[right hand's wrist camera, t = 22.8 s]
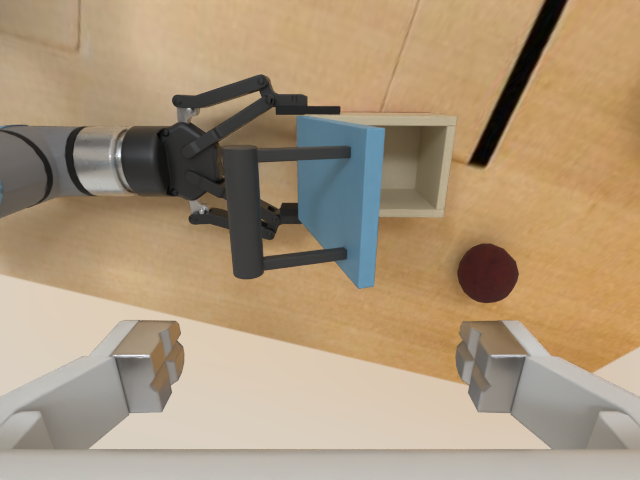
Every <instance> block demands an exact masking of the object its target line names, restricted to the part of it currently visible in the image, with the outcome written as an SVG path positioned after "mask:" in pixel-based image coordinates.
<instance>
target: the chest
mask: <svg viewBox="0 0 640 480" xmlns="http://www.w3.org/2000/svg"><path fill="white" fill-rule="evenodd" d="M303 116H313V117H319V118H325V119H331V120H337V121H343V122H349V123H356V124H362V125H368V126H374V127H380V128H385V137H384V151H383V165H382V179H381V194H380V208H379V217H433V218H443V215H444V208H445V201H446V194H447V187H448V180H449V173H450V166H451V159H452V152H453V144H454V137H455V130H456V123H457V117H456V116H449V115H441V114H434V113H423V112H340V115H329V114H304V115H303Z"/></svg>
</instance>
